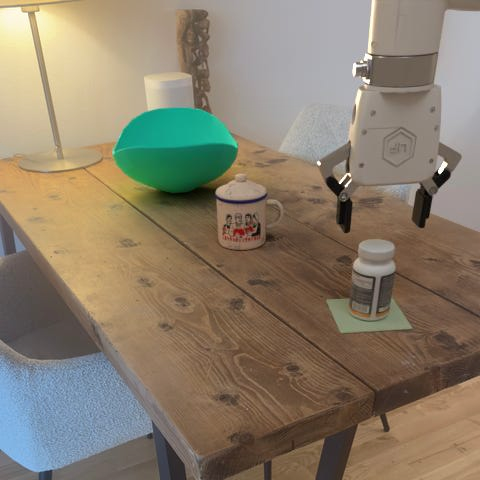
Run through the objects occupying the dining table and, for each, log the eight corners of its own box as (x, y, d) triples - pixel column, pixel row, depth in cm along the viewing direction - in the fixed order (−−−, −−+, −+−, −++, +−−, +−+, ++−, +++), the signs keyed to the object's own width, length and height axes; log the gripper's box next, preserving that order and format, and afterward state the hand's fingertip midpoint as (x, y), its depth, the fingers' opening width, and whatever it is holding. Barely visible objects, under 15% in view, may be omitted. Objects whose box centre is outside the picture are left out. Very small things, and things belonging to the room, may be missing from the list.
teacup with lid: (217, 252, 100) (213, 183, 92) (217, 233, 107) (214, 168, 99) (284, 250, 100) (287, 181, 92) (280, 231, 107) (281, 166, 99)
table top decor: (248, 213, 115) (248, 142, 107) (112, 221, 113) (100, 149, 105) (231, 162, 146) (229, 104, 138) (123, 168, 144) (115, 109, 136)
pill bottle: (379, 302, 83) (389, 235, 77) (394, 320, 79) (406, 251, 72) (342, 305, 82) (349, 239, 76) (355, 324, 78) (363, 255, 72)
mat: (391, 296, 85) (391, 295, 85) (412, 329, 77) (412, 328, 77) (325, 300, 84) (325, 299, 84) (340, 333, 76) (340, 332, 76)
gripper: (329, 82, 59) (320, 242, 70) (491, 72, 59) (457, 233, 70) (316, 71, 65) (309, 221, 75) (463, 63, 65) (436, 212, 76)
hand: (381, 226), depth 73 cm, fingers open, 9 cm apart
